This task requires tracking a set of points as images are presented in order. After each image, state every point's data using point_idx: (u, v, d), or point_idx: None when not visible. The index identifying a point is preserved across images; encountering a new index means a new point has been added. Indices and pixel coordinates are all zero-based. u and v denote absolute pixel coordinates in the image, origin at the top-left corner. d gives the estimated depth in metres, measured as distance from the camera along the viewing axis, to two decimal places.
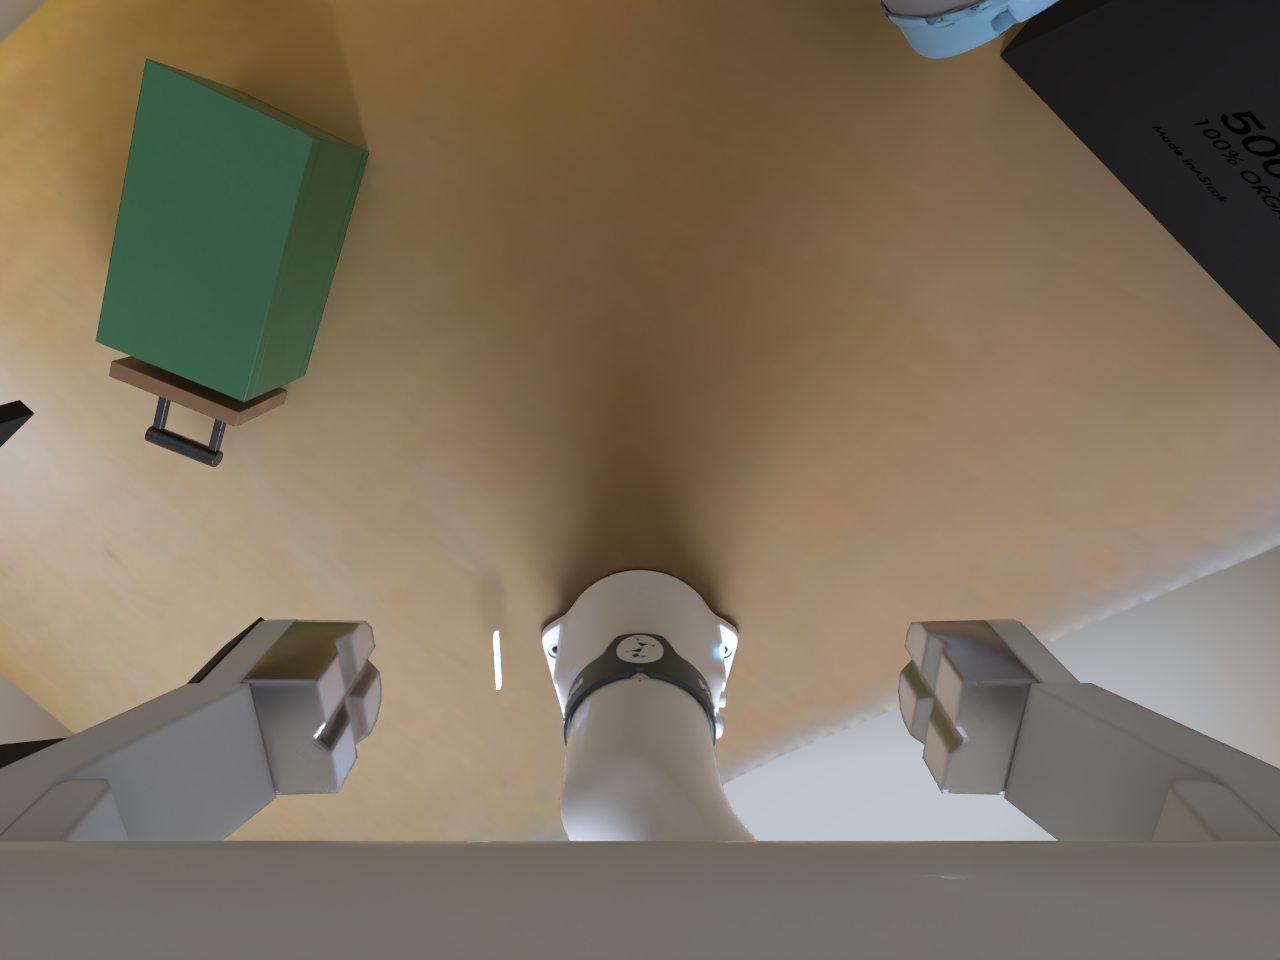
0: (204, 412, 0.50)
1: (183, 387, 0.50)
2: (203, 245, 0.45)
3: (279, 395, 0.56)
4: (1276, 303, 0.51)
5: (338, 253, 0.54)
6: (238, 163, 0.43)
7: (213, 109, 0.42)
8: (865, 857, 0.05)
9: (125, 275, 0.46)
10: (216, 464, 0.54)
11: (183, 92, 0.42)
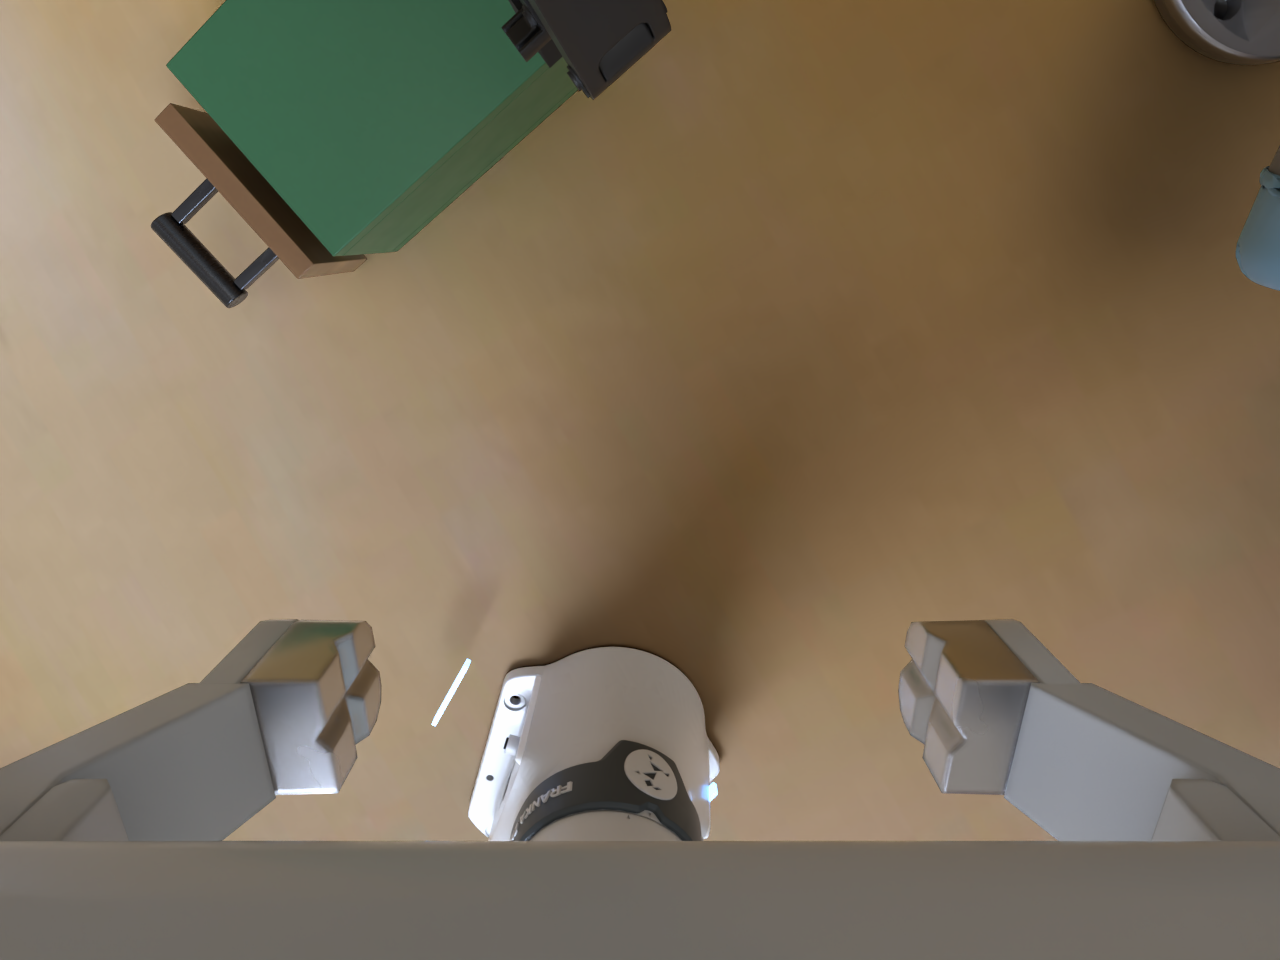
0: (265, 238, 0.34)
1: (253, 192, 0.34)
2: (400, 29, 0.30)
3: (357, 261, 0.40)
4: None
5: (527, 133, 0.40)
6: None
7: None
8: (865, 857, 0.05)
9: (263, 3, 0.30)
10: (232, 305, 0.38)
11: None
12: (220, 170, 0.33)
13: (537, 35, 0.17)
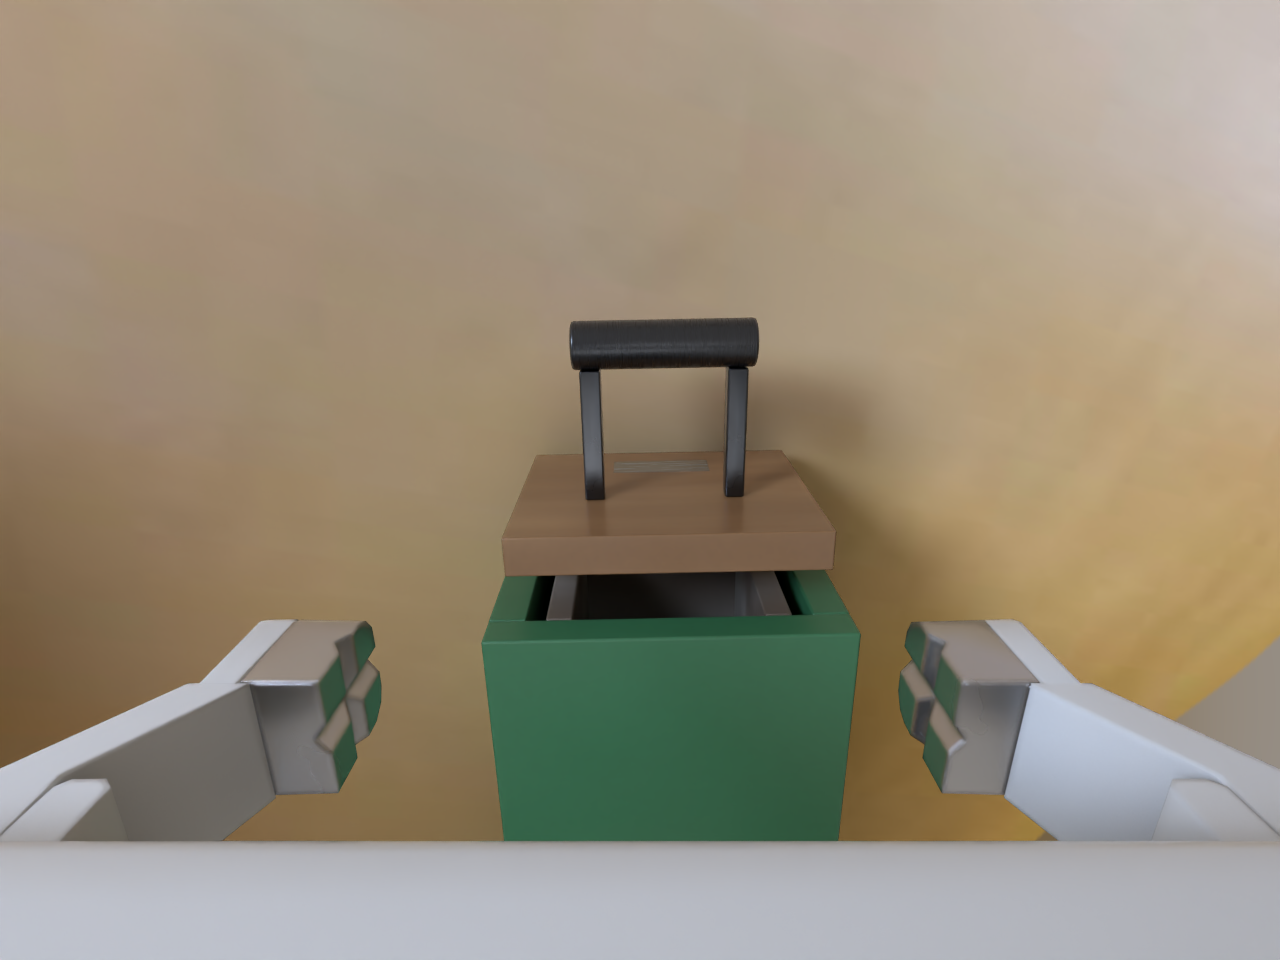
0: (586, 541, 0.19)
1: None
2: None
3: None
4: None
5: None
6: None
7: None
8: (865, 857, 0.05)
9: (808, 787, 0.20)
10: None
11: None
12: (712, 560, 0.19)
13: None
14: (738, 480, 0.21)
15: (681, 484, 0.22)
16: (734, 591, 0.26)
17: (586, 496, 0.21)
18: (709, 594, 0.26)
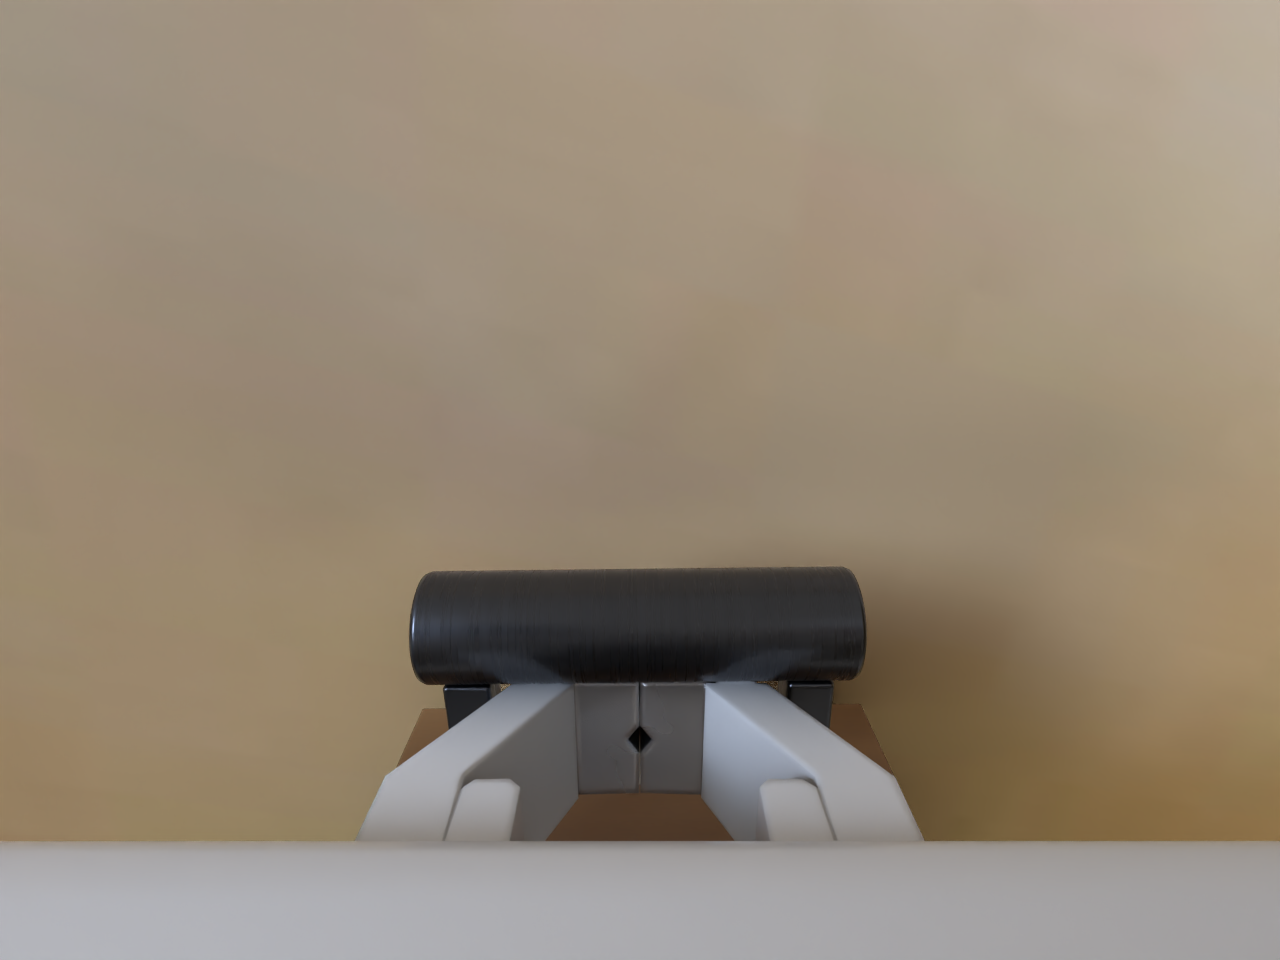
0: None
1: None
2: None
3: None
4: None
5: None
6: None
7: None
8: (865, 857, 0.05)
9: None
10: None
11: None
12: None
13: None
14: None
15: None
16: None
17: None
18: None
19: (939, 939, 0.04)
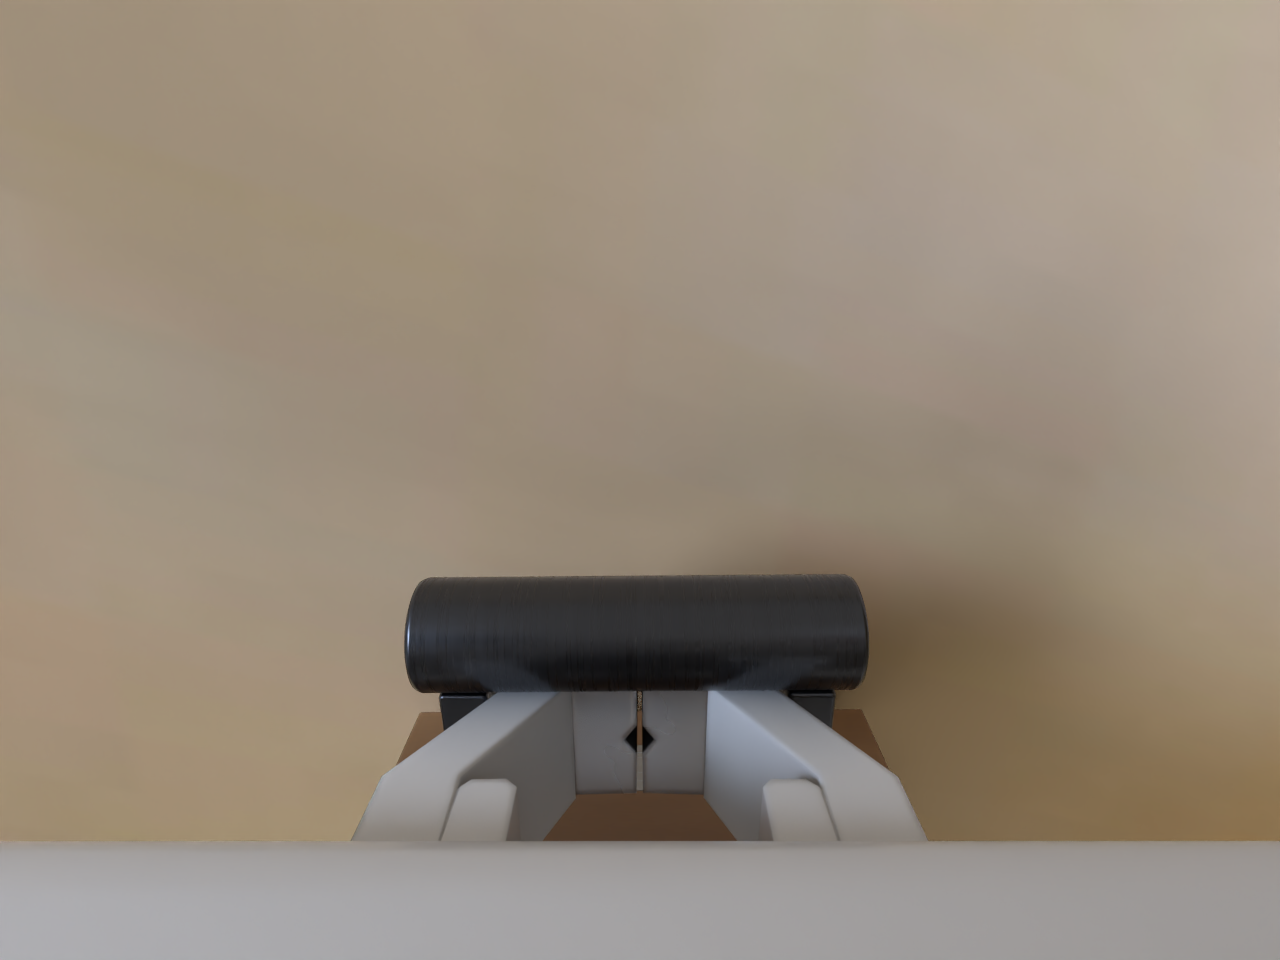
0: None
1: None
2: None
3: None
4: None
5: None
6: None
7: None
8: (865, 857, 0.05)
9: None
10: None
11: None
12: None
13: None
14: None
15: None
16: None
17: None
18: None
19: (939, 939, 0.04)
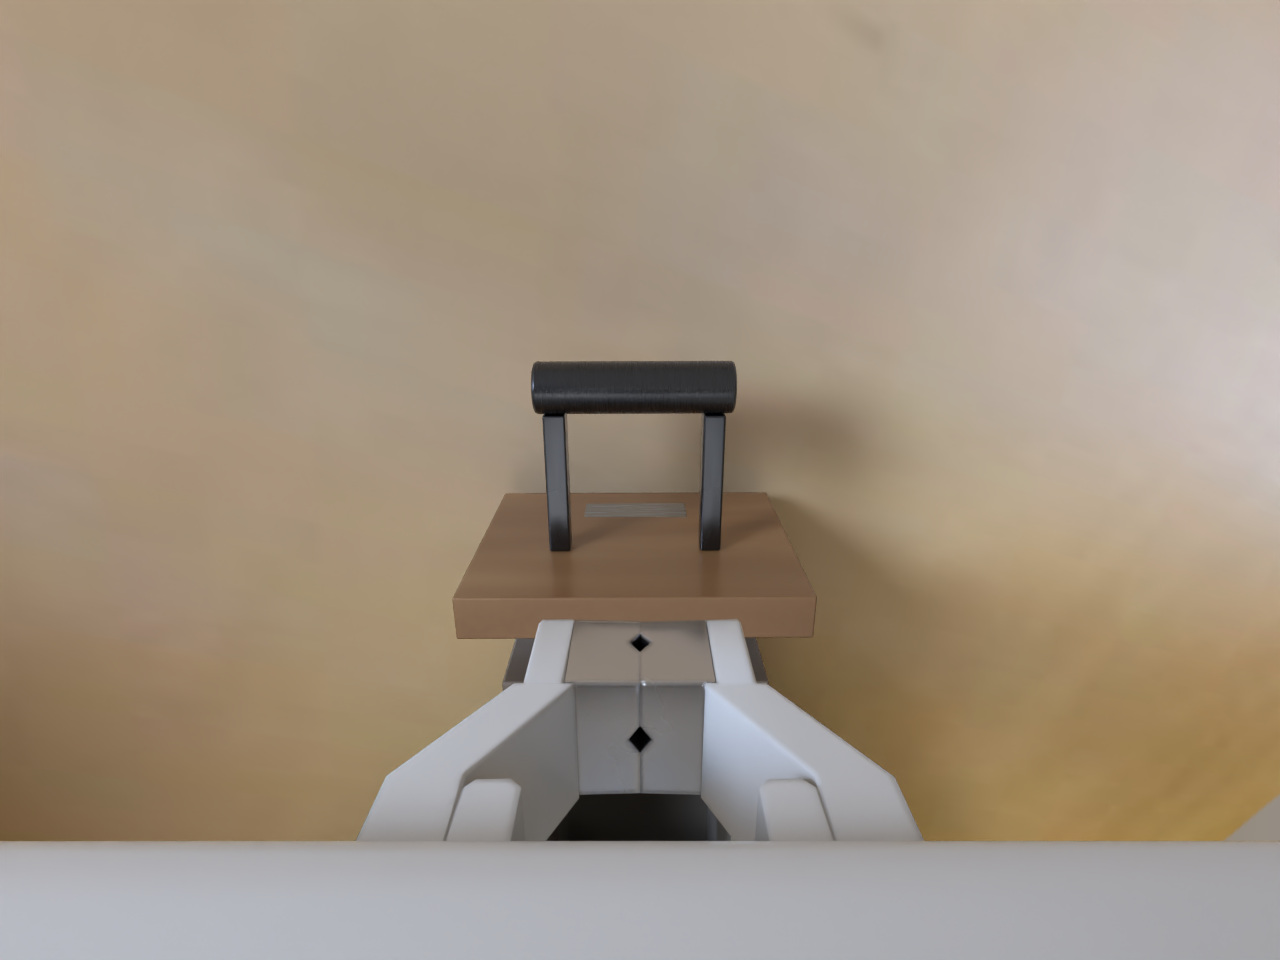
0: (544, 603, 0.17)
1: None
2: None
3: None
4: None
5: None
6: None
7: None
8: (865, 857, 0.05)
9: None
10: None
11: None
12: None
13: None
14: (714, 533, 0.19)
15: (655, 533, 0.21)
16: None
17: (550, 547, 0.19)
18: None
19: (939, 939, 0.04)
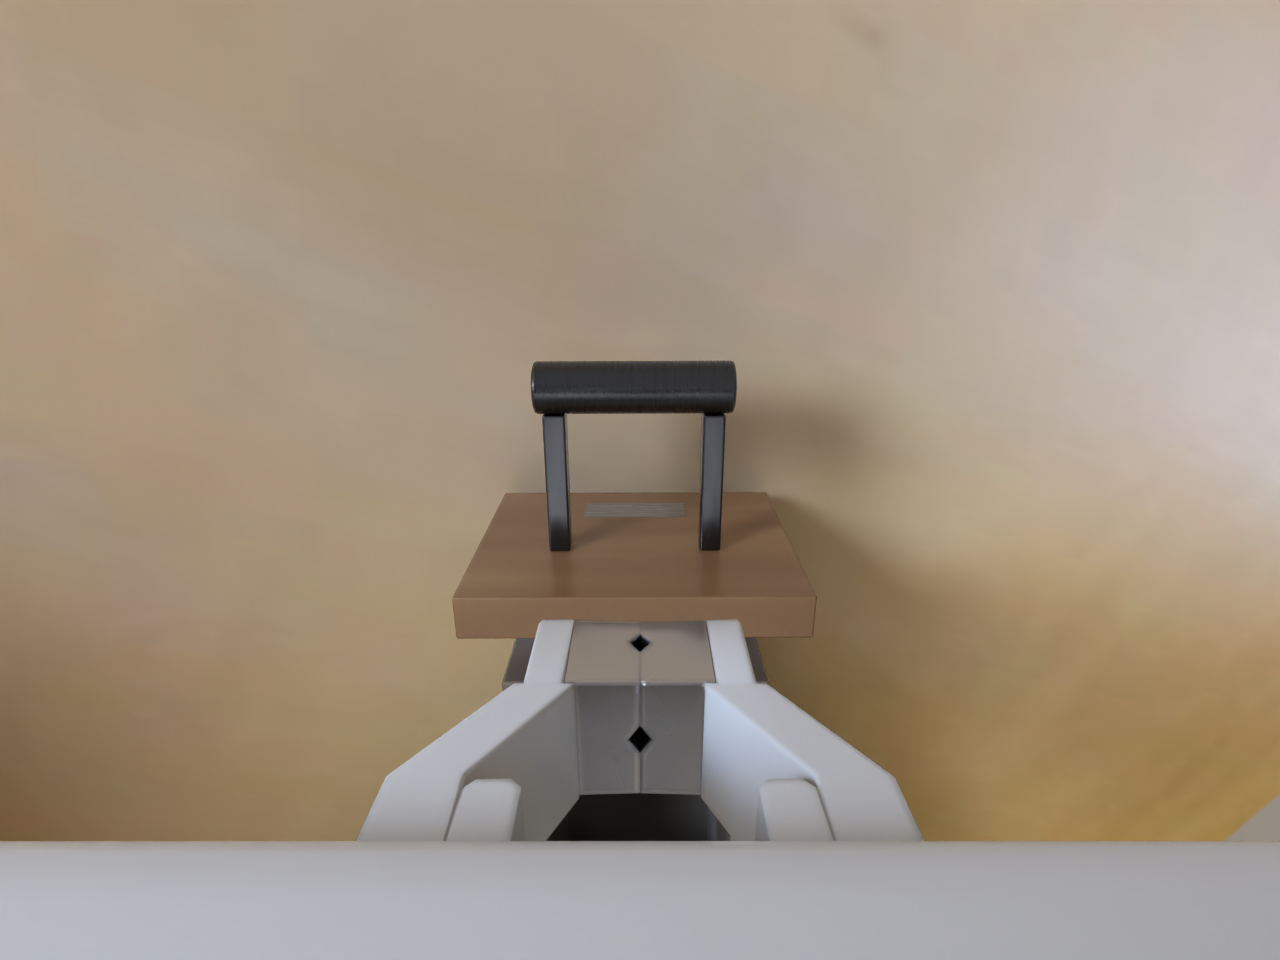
0: (544, 603, 0.17)
1: None
2: None
3: None
4: None
5: None
6: None
7: None
8: (865, 857, 0.05)
9: None
10: None
11: None
12: None
13: None
14: (714, 533, 0.19)
15: (655, 533, 0.21)
16: None
17: (550, 547, 0.20)
18: None
19: (939, 939, 0.04)
